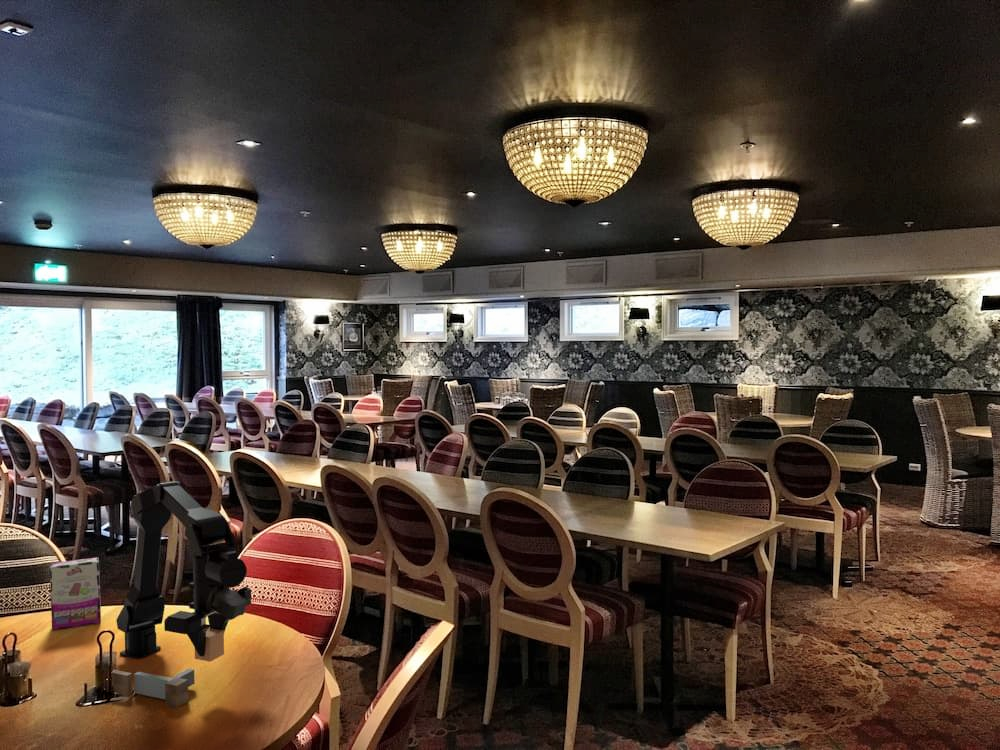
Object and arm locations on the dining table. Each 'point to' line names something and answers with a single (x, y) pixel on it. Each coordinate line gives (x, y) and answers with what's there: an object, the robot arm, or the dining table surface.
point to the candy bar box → (75, 593)
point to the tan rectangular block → (212, 645)
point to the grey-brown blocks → (173, 689)
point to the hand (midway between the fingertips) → (209, 651)
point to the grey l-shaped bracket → (158, 683)
